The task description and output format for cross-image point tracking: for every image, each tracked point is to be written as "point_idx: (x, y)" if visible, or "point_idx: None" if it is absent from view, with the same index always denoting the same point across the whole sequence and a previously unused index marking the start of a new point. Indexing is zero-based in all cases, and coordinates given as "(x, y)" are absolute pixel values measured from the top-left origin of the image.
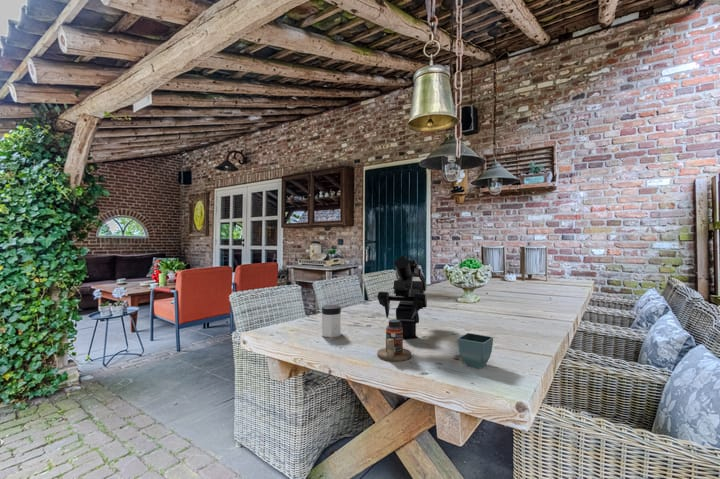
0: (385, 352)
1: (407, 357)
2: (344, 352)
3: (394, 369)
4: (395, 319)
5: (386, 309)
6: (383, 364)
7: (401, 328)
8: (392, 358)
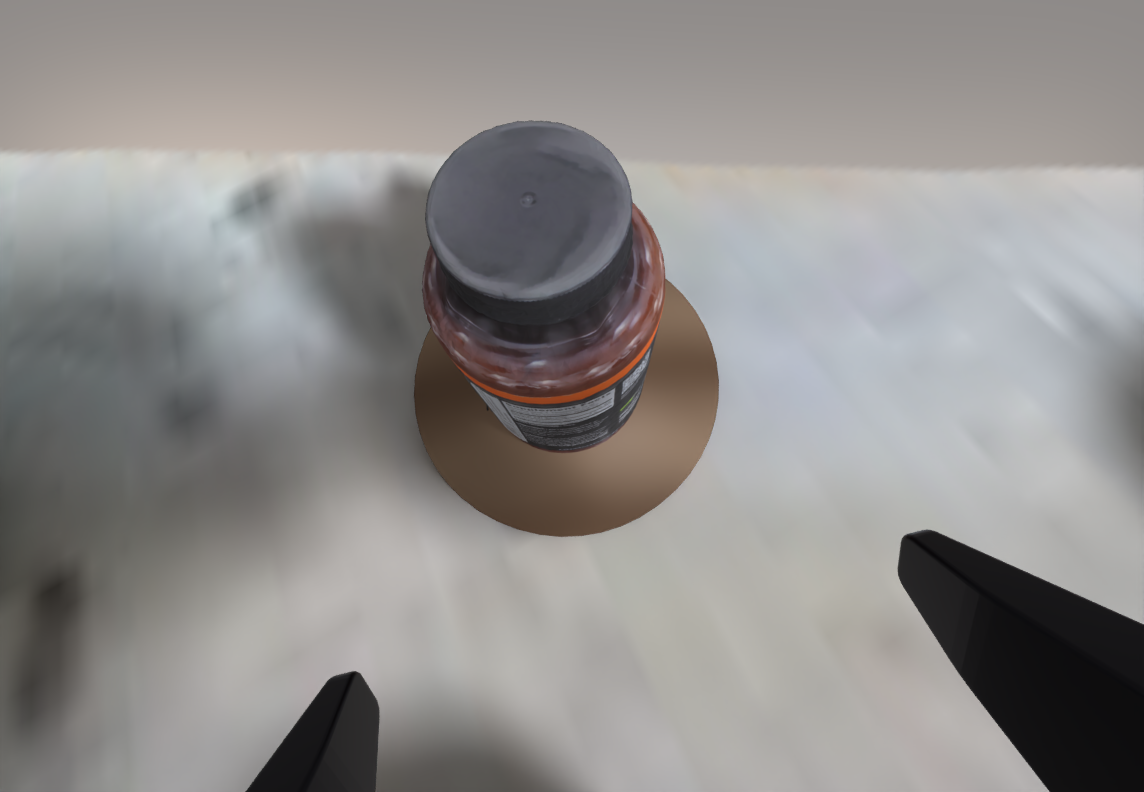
0: None
1: (425, 347)
2: (953, 239)
3: None
4: (547, 278)
5: (1128, 646)
6: None
7: (426, 272)
8: None
